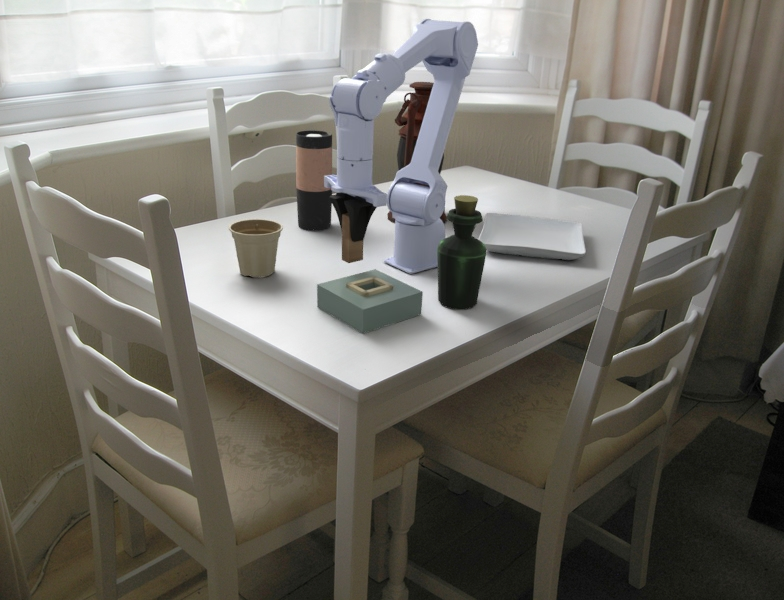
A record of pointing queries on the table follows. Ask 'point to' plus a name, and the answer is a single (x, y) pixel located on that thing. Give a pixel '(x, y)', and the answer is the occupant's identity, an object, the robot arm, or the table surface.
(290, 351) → the table surface
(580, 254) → the salad plate
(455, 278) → the potion bottle
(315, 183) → the travel mug
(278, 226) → the flower pot
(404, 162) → the lantern
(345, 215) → the brown wooden block
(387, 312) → the sage green square pedestal
